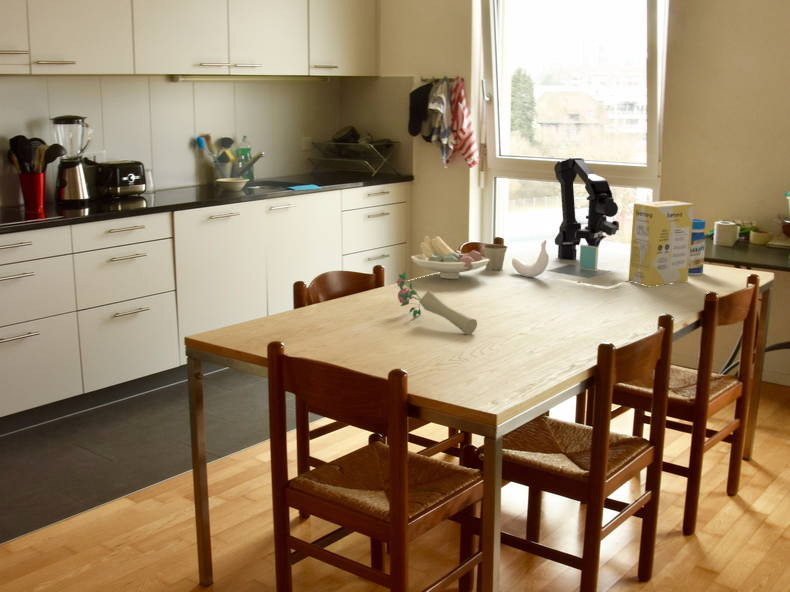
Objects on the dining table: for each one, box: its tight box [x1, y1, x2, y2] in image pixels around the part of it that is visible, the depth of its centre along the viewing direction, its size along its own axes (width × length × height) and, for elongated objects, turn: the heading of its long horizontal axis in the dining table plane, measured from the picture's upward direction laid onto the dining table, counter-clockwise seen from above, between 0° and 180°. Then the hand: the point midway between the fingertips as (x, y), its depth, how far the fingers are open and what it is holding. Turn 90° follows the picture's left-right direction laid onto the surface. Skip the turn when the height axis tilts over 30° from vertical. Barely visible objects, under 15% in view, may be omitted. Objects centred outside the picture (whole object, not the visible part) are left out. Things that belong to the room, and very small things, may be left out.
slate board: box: [545, 264, 611, 279], centre depth 328 cm, size 18×16×1 cm
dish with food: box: [410, 235, 489, 280], centre depth 318 cm, size 28×28×14 cm
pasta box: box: [628, 200, 695, 287], centre depth 311 cm, size 18×10×28 cm, turn 119°
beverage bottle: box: [688, 218, 707, 276], centre depth 326 cm, size 8×8×20 cm
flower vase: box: [396, 270, 478, 335], centre depth 259 cm, size 12×12×35 cm
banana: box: [511, 239, 550, 278], centre depth 320 cm, size 5×19×15 cm, turn 36°
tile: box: [578, 244, 599, 271], centre depth 329 cm, size 7×1×9 cm, turn 46°
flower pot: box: [482, 243, 508, 271], centre depth 334 cm, size 9×9×9 cm
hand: (593, 254), depth 331 cm, fingers closed
